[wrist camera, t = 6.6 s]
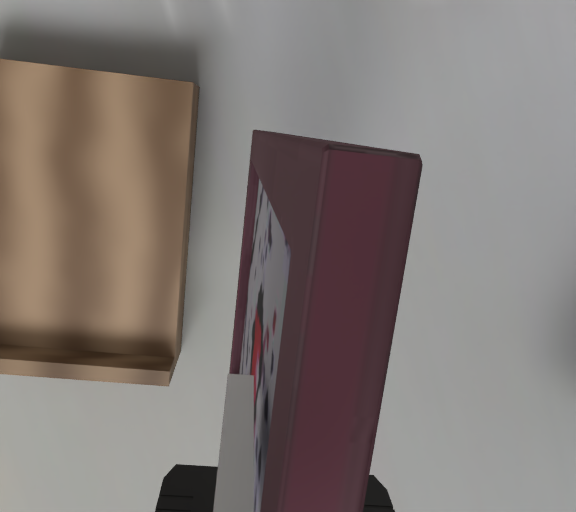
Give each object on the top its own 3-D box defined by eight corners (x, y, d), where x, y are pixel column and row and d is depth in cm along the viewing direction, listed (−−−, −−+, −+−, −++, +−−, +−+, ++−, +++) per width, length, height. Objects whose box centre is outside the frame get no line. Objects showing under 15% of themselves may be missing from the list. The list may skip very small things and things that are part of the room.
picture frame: (253, 129, 30) (240, 133, 6) (419, 149, 31) (1036, 225, 6) (227, 393, 34) (154, 1075, 9) (376, 404, 34) (660, 1057, 10)
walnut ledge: (199, 87, 40) (189, 79, 34) (180, 351, 45) (168, 386, 39) (-3, 62, 39) (-52, 49, 33) (1, 336, 44) (-41, 370, 38)
